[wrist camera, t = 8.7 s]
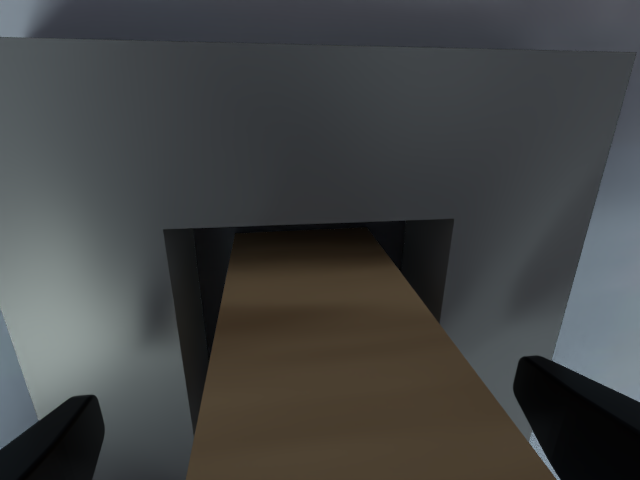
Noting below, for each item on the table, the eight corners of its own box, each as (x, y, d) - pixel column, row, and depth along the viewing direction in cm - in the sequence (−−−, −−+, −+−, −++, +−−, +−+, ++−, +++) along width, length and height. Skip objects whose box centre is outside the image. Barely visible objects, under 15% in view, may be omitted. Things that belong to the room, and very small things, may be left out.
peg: (361, 335, 13) (523, 742, 5) (244, 345, 13) (210, 814, 5) (366, 227, 12) (605, 546, 4) (234, 233, 11) (157, 621, 3)
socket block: (469, 424, 16) (513, 497, 13) (120, 463, 14) (84, 556, 11) (540, 62, 11) (636, 52, 8) (17, 52, 9) (-93, 34, 6)
